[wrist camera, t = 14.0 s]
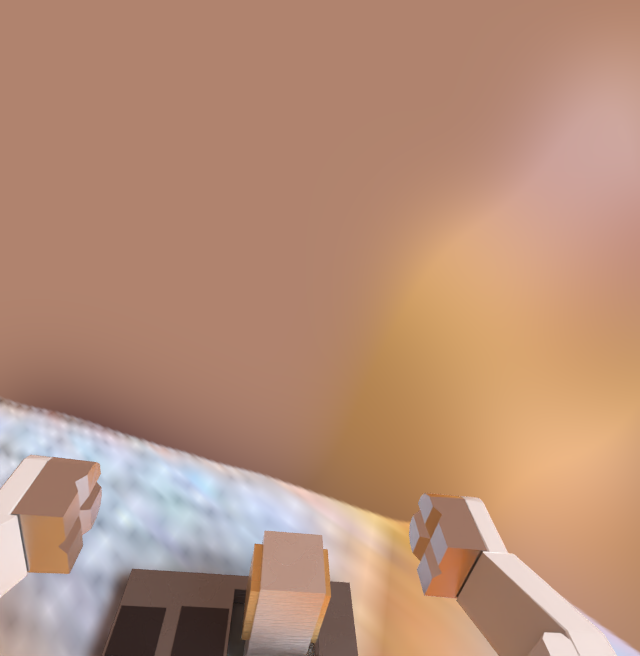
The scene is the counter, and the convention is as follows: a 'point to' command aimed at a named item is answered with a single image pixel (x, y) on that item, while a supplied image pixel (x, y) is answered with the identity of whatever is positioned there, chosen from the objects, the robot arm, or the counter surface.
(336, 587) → the rail
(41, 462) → the robot arm
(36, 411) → the counter surface
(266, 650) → the brushed metal pillar
